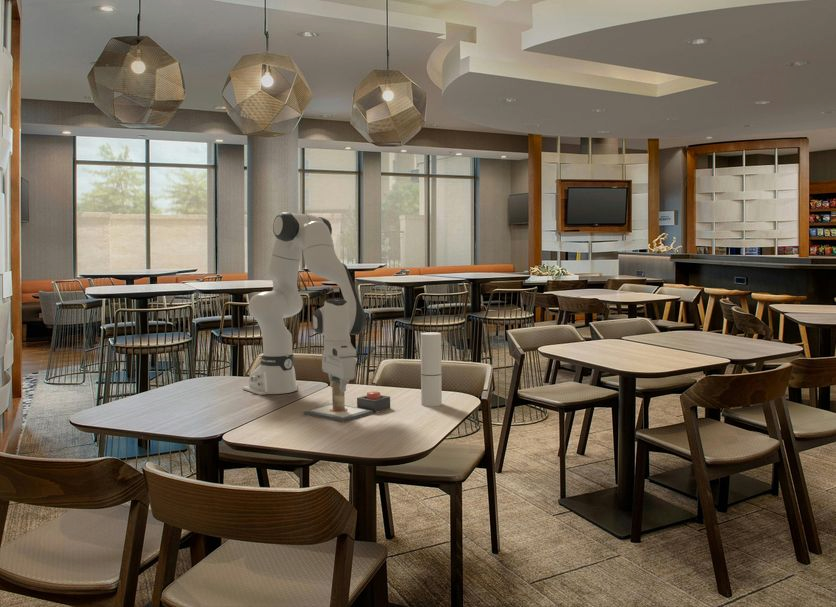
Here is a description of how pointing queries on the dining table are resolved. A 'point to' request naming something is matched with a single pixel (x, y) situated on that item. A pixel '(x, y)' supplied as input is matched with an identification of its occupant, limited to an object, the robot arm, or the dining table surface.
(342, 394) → the marker
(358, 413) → the grey tray
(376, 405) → the button housing
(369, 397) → the button
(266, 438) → the dining table surface
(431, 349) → the cylindrical container
